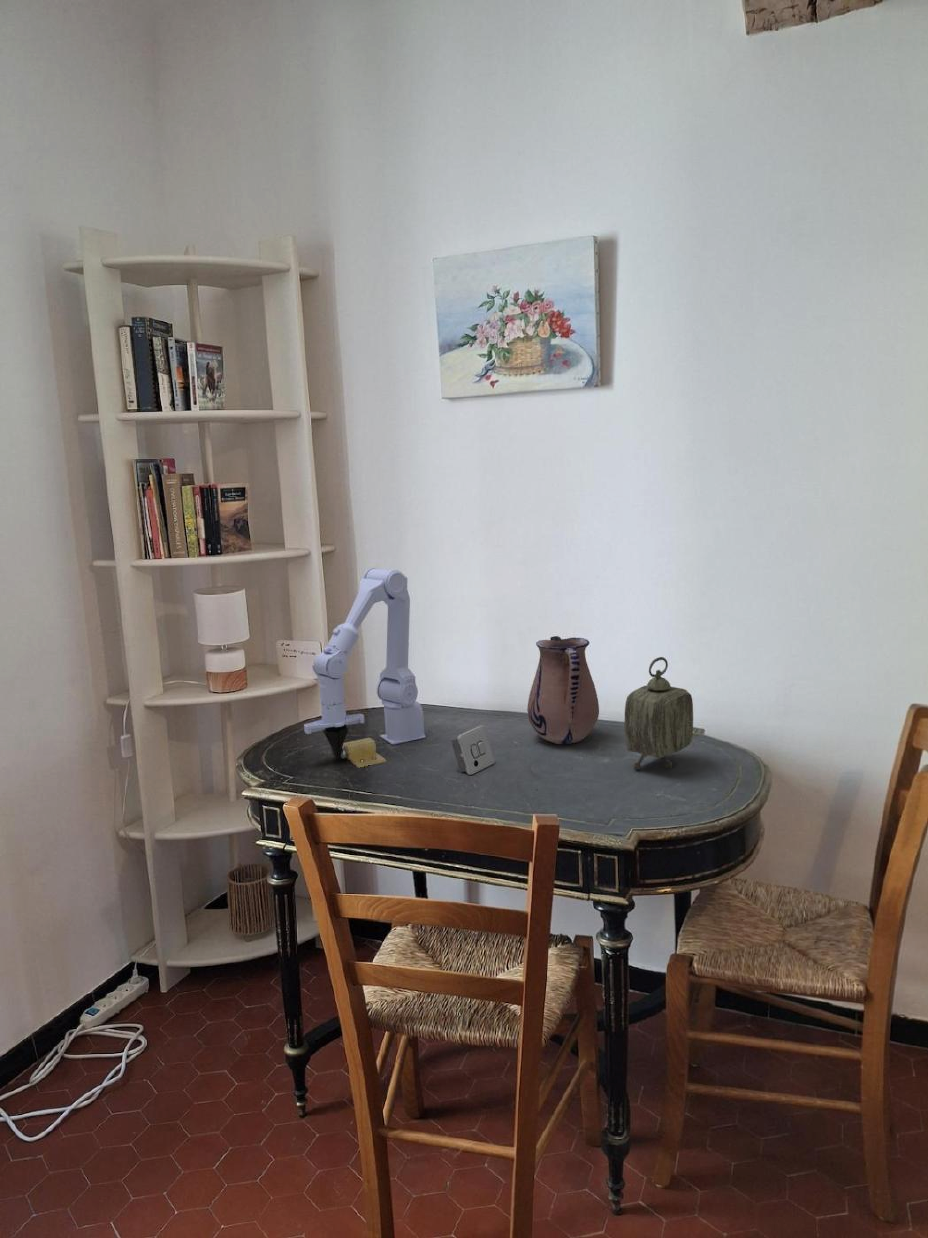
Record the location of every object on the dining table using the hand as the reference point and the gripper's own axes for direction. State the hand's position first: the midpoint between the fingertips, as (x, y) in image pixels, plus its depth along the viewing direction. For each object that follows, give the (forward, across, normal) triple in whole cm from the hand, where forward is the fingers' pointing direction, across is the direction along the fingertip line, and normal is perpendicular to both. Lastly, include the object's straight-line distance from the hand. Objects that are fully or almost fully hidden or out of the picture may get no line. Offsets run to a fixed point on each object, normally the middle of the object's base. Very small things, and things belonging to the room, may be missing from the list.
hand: (337, 756), depth 220 cm
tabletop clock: (+1, +59, -48) cm, 76 cm away
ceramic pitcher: (+1, +52, -21) cm, 56 cm away
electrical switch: (+1, +24, -24) cm, 34 cm away
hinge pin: (+1, +5, 0) cm, 5 cm away
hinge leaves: (+1, +6, 0) cm, 6 cm away
